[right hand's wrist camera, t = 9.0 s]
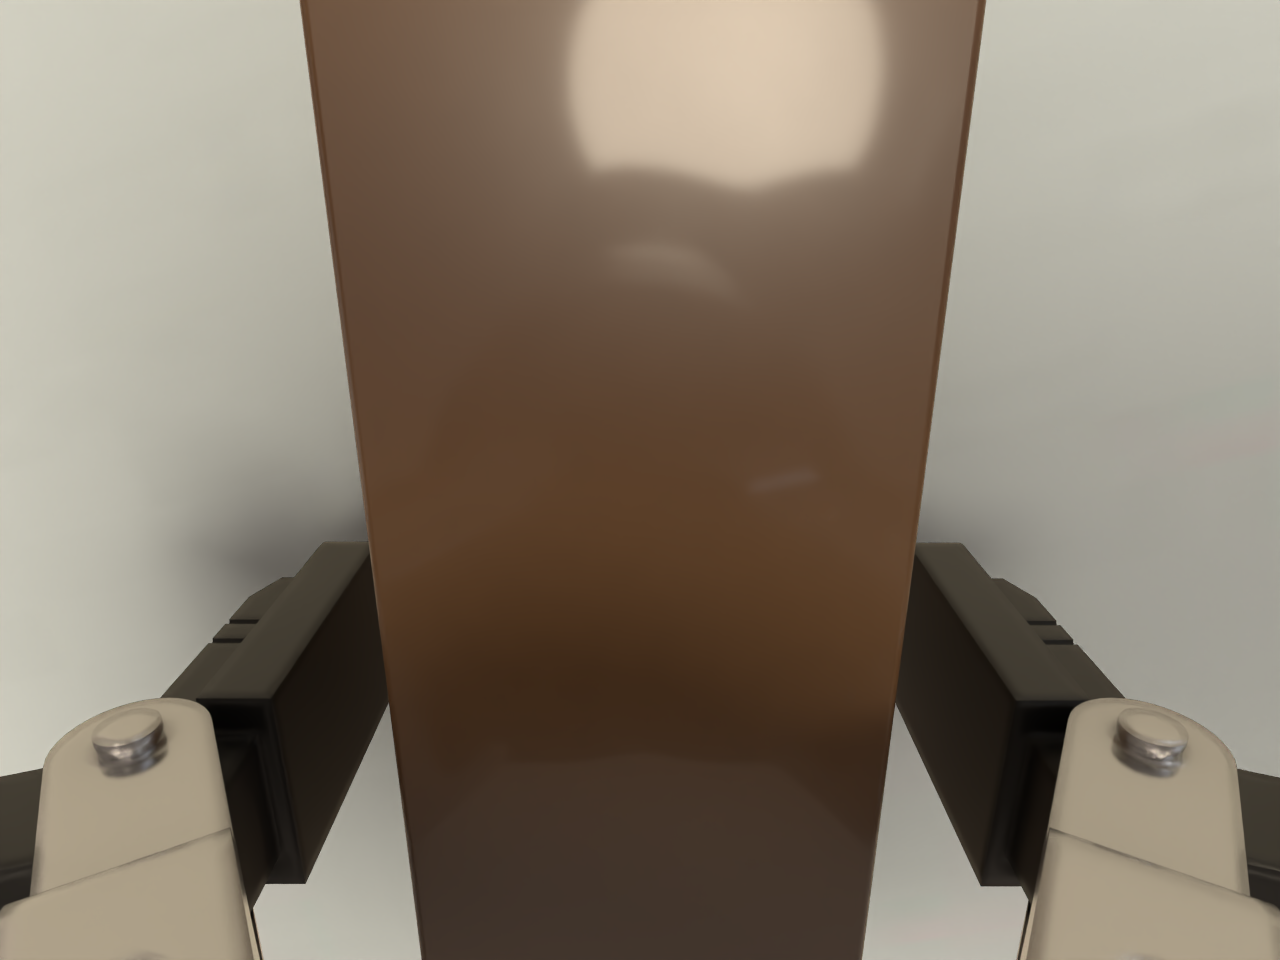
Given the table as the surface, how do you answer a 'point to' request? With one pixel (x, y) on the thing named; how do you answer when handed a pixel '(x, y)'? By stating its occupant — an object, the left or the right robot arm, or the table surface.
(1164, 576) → the table surface
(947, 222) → the beam
